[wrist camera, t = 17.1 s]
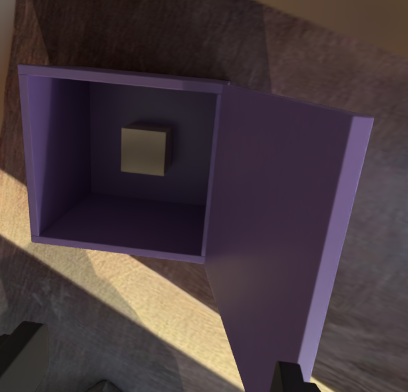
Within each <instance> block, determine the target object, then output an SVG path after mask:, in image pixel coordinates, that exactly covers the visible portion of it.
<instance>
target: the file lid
mask: <svg viewBox="0 0 408 392" xmlns="http://www.w3.org/2000/svg"><path fill="white" fill-rule="evenodd" d="M373 121H374V117H373V116H369V115H364V114H360V113H355V112H351V111H346V110H342V109H338V108H333V107H329V106H324V105H320V104H315V103H311V102H306V101H302V100H297V99H293V98H288V97H284V96H279V95H275V94H270V93H266V92H261V91H257V90H252V89H248V88H243V87H239V86H234V85H227V84H223V88H222V98H221V108H220V117H219V127H218V137H217V146H216V156H215V166H214V176H213V185H212V195H211V205H210V214H209V224H208V234H207V243H206V253H205V263H204V268H205V271H206V274H207V277H208V280H209V283H210V286H211V289H212V292H213V295H214V298H215V301H216V304H217V307H218V310H219V313H220V316H221V319H222V322H223V325H224V328H225V331H226V334H227V337H228V340H229V343H230V347H231V350H232V353H233V356H234V359H235V362H236V365H237V368H238V371H239V374H240V377H241V380H242V383H243V386H244V389H245V392H270V387H271V383H272V378H273V374H274V369H275V365H276V362H277V361H284V362H291V363H297V364H300V366H301V370H302V374H303V379H304V382H309V381H310V377H311V373H312V369H313V365H314V361H315V357H316V353H317V348H318V344H319V340H320V336H321V332H322V328H323V324H324V320H325V316H326V312H327V308H328V304H329V300H330V296H331V292H332V287H333V283H334V279H335V275H336V271H337V267H338V263H339V259H340V255H341V251H342V247H343V243H344V239H345V235H346V231H347V226H348V222H349V218H350V214H351V210H352V206H353V202H354V198H355V194H356V190H357V186H358V182H359V178H360V174H361V170H362V165H363V161H364V157H365V153H366V149H367V145H368V141H369V137H370V133H371V129H372V125H373Z"/></svg>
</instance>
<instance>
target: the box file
mask: <svg viewBox="0 0 408 392" xmlns="http://www.w3.org/2000/svg"><path fill="white" fill-rule="evenodd" d="M18 77H19V90H20V103H21V115H22V128H23V141H24V153H25V166H26V178H27V191H28V204H29V216H30V229H31V240H32V242H34V243H42V244H50V245H58V246H66V247H74V248H82V249H90V250H98V251H107V252H115V253H123V254H131V255H139V256H147V257H155V258H163V259H171V260H179V261H187V262H195V263H203V264H204V263H205V253H206V243H207V234H208V224H209V214H210V205H211V195H212V185H213V176H214V166H215V156H216V146H217V137H218V127H219V117H220V108H221V98H222V88H223V84H227V85H230V81H227V80H217V79H207V78H196V77H186V76H176V75H165V74H155V73H145V72H134V71H124V70H114V69H103V68H93V67H79V66H55V65H32V64H18ZM133 122H138V123H148V124H157V125H167V126H174V129H173V145H172V161H171V166H170V168H169V169H168V171H167V172H166V173H165V175H164V176H158V175H149V174H140V173H131V172H123V171H121V132H122V128H123V127H125V126H127V125H129V124H131V123H133Z"/></svg>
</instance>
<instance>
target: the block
mask: <svg viewBox="0 0 408 392" xmlns="http://www.w3.org/2000/svg"><path fill="white" fill-rule="evenodd" d="M173 129H174V126H167V125H157V124H148V123H138V122H133V123H131V124H129V125H127V126H125V127H123V128H122V132H121V171H123V172H131V173H140V174H149V175H158V176H164V175H165V173H166V172H167V171H168V169H169V168H170V166H171V161H172V145H173Z"/></svg>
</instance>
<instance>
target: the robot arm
mask: <svg viewBox="0 0 408 392" xmlns="http://www.w3.org/2000/svg"><path fill="white" fill-rule="evenodd" d="M48 363H49V343H48V327H47V325H46V324H42V323H35V322H29V321H23V322H22V323H21V324H20V325H19V326H18V327H17V328H16V329H15V330H14V331H13V333H12V334H11V335H7V334H3V335H2V336H0V392H35V390H36V388H37V387H38V385H39V384H40V382H41V381H42V379H43V377H44V375H45V373H46V371H47V368H48ZM270 392H321V391H320V390H319V388H318V387H317V385H316V384H315V383H309V382H304V379H303V374H302V370H301V366H300V364H297V363H291V362H284V361H277V362H276V365H275V369H274V374H273V378H272V383H271V387H270Z"/></svg>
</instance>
